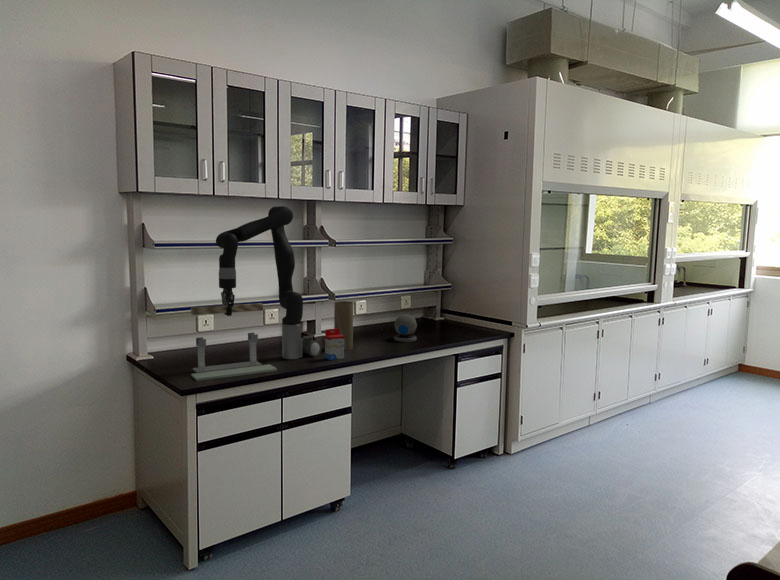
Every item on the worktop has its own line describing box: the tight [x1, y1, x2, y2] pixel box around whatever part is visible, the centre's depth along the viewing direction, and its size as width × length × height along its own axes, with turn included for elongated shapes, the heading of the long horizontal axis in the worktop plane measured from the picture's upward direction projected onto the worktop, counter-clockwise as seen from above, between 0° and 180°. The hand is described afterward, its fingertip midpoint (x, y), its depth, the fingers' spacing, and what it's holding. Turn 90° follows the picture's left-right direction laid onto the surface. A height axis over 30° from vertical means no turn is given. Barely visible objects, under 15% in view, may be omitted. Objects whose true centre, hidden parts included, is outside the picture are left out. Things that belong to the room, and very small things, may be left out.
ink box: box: [324, 328, 345, 361], centre depth 293 cm, size 8×5×15 cm, turn 126°
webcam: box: [393, 313, 418, 343], centre depth 343 cm, size 13×13×15 cm
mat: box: [190, 364, 278, 382], centre depth 262 cm, size 36×9×1 cm, turn 122°
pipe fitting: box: [302, 334, 322, 357], centre depth 301 cm, size 12×8×10 cm, turn 49°
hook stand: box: [192, 332, 263, 374], centre depth 270 cm, size 30×8×15 cm, turn 122°
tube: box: [333, 300, 354, 351], centre depth 316 cm, size 10×10×25 cm
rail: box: [190, 302, 264, 316], centre depth 266 cm, size 32×3×3 cm, turn 122°
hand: (228, 315), depth 267 cm, fingers closed on rail, 3 cm apart
